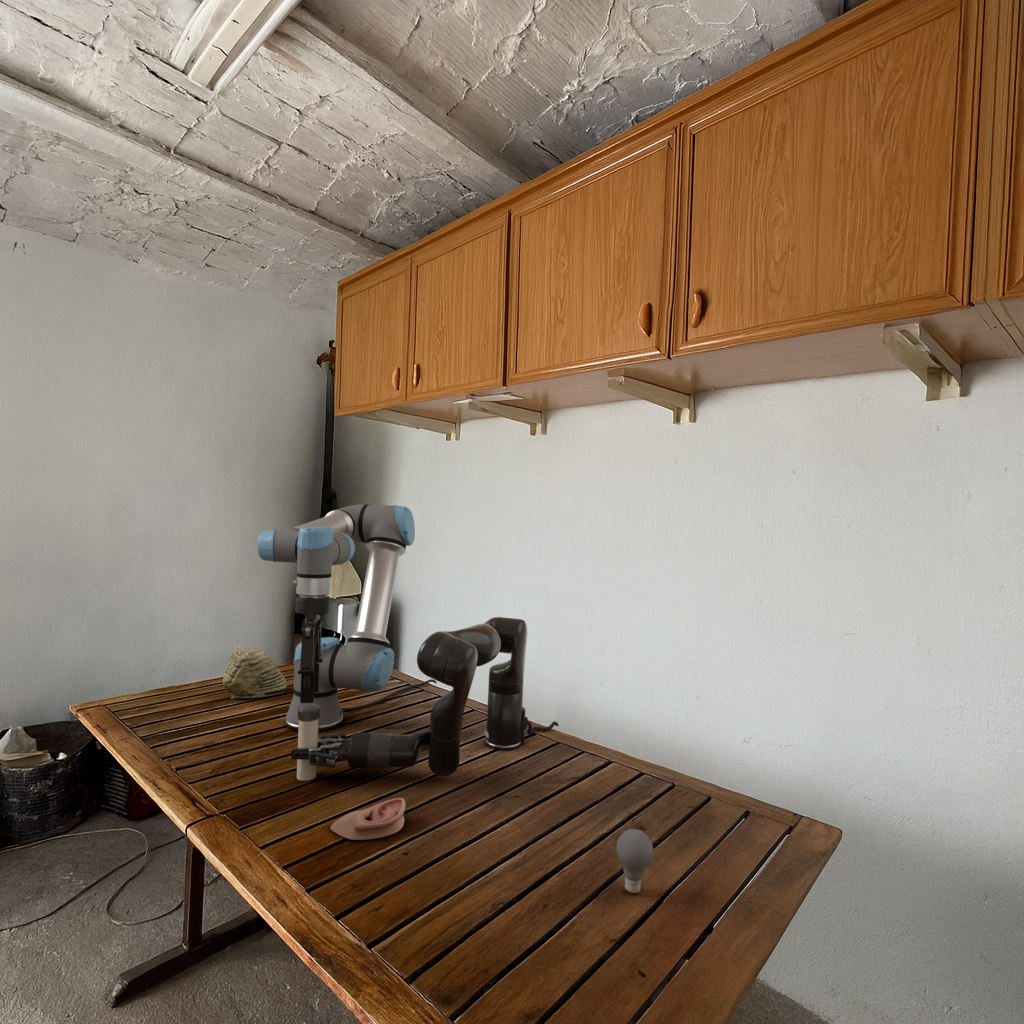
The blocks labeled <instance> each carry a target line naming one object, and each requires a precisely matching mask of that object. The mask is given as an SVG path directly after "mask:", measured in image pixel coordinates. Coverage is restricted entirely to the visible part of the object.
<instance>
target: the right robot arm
mask: <svg viewBox="0 0 1024 1024" xmlns="http://www.w3.org/2000/svg"><path fill="white" fill-rule="evenodd" d="M527 643H528V625H527V622H526V621H525V620H524V619H522V618H513V617H503V616H495V617H491V618H489V619H488V620H486V621H485V622H484V623H479V624H478V623H477V624H474V625H470V626H468V627H465V628H460V629H456V630H449V631H447V630H446V631H445V630H438V631H436V632H433V633H432V634H430V635H429V636H428V637H426V639H424V641H423V642H422V644H421V645H420V647H419V648H418V651H417V655H416V664H417V668H418V670H419V671H420V672H421V673H422V674H423V675H424V676H426V677H428V678H430V679H433V680H435V681H436V682H439V683H441V684H444V685H446V686H449V687H451V688H452V689H450V690H449V691H448V692H447V693H446V694H444V695H442V696H441V697H440V698H438V699H437V700H436V702H435V703H434V704H433V707H432V708H431V711H430V716H429V717H430V720H429V729H428V730H425V731H420V732H415V733H412V734H391V733H386V732H352V734H351V735H350V738H349V739H348V738H347V734H346V733H336V734H326V735H319V737H318V748H311V749H309V748H298V742H297V745H296V746H297V747H294V748H292V750H291V754H290V755H291V756H290V758H291V759H292V760H297V759H309V761H310V763H309V764H310V765H316V766H317V767H323V768H329V769H330V768H331V769H333V768H334V769H335V767H336V763H340V762H347V765H348V767H349V768H350V769H385V768H413V767H415V766H416V765H417V762H418V761H419V757H420V755H421V753H422V754H423V752H426V751H428V757H427V758H428V760H427V763H428V764H427V765H428V769H429V770H430V771H431V773H432V774H434V775H436V776H437V777H442V778H445V777H449V776H451V775H453V774H454V773H455V772H456V771H457V770H458V768H459V766H460V757H461V754H460V752H461V736H462V732H463V721H464V711H465V707H466V704H467V701H468V698H469V695H470V691H471V688H472V684H473V681H474V677H475V674H476V670H477V668H479V667H482V666H484V665H486V664H488V663H490V662H492V661H493V660H495V659H496V657H497V656H498V655H499V653H501V654H509V655H510V658H509V660H506V661H504V662H499V663H496V664H494V665H492V666H491V667H489V669H488V684H487V685H488V686H487V687H488V688H487V710H486V711H487V712H486V729H484V735H485V744H486V745H487V746H488V747H490V748H492V749H495V750H503V751H504V750H507V751H508V750H513V749H517V748H519V747H521V746H522V745H525V730H527V734H528V735H532V733H533V732H534V731H540V732H547V731H551V730H552V729H553V728H554V727H559V726H560V725H559V723H558V722H557V721H555V720H554V721H552V722H551V723H550V724H549V725H548V726H545V727H542V726H533V725H532V723H531V722H530V721H529V718H528V717H527V716H526V708H525V707H524V705H523V702H524V678H525V666H526V654H527V653H526V652H527V651H526V650H527Z"/></svg>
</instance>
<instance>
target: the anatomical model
mask: <svg viewBox="0 0 1024 1024" xmlns="http://www.w3.org/2000/svg"><path fill="white" fill-rule="evenodd" d="M406 807H407V804H406V799H405V798H403V797H396V798H391V799H388V800H385V801H382V802H378V803H376V804H374V805H372V806H370V807H367V808H364V809H360V810H355V811H351V812H348V813H347V814H344V815H343V816H341V817H340V818H338V819H336V820H335V821H334V822H333V823H332V824H331V825H330V830H331V832H333V833H335V834H337V835H338V836H339V837H342V838H344V839H346V840H351V841H365V840H374V839H380V838H384V837H388V836H391V835H394V834H395V833H397V832H399V831H400V830H402V829H403V828H404V825H405V816H404V814H405V812H406V811H405V810H406Z"/></svg>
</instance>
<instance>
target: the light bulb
mask: <svg viewBox="0 0 1024 1024" xmlns="http://www.w3.org/2000/svg"><path fill="white" fill-rule="evenodd" d="M615 849H616V854H617V857H618V859H619V861H620V863H621V865H622V867H623V873H624V874H623V875H624V876H625V878H624V888H625V890H627V891H628V892H630V893H634V894H635V893H639V892H640V891H641V889H642V887H641V886H642V879H643V877H644V875H645V871H646V868H647V867H648V866H649V864H650V863H651V861H652V859H653V855H654V847H653V843H652V841H651V838H649V836H648V835H647V834H646V833H645V832H643V831H642V830H641V829H636V828H629V829H627V830H625V831H623V832H622V833H621V834H620V835H619V837H618V839H617V841H616V847H615Z"/></svg>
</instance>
